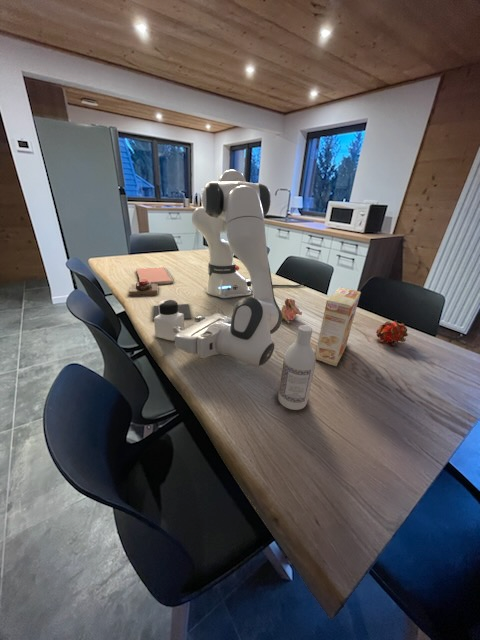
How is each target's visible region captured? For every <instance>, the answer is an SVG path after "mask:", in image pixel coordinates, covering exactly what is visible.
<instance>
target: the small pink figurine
mask: <svg viewBox="0 0 480 640" xmlns="http://www.w3.org/2000/svg"><path fill="white" fill-rule="evenodd" d="M280 310H281V313H282V320H285V321H286V322H287V323H288V324H290V320H291V321H294V318H296V317H297V315H299V316H302V315H303V312H302V311H300V309H299V307H297V306H296V301H295V299H293V298H290V297H289V298H286V299H285V300H284V304H283V305H282V307H281V309H280Z"/></svg>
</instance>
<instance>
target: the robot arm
mask: <svg viewBox="0 0 480 640" xmlns="http://www.w3.org/2000/svg"><path fill="white" fill-rule="evenodd" d="M201 196H202V197H201V201H202V202H201V203H202V206H198V207H196V208H195V209H194V211H193V212H192V216H191V221H192V225H193V227H194V229H196V231H198V232H199V233H200V234H201V235H202V236H203V238H204V239H205V241H206V243H207V247H208V257H209V258H208V259H209V261H208V266H207V274H208V281H207V286H206V288H205V289H206V290H205V293H206V294H208V295H210V296H214V297H219V298H220V299H229V298H237V297H238V298H239V297H243V298H241V299H239V300H238V301H237V302H236V303H235V305H234V306H233V309H232V313H231V318H230V317H229V316H226V315H224V314H222V313H220V312H219V313H218V312H215V313H213V314H212V315H210V316H200V315H196V316H194V317H193V320H194V322H195V323H194V324H192V325H191V326H189V327H187V328H184V330H181V327H178V326H176V327H174V328H173V332H174V333H176V335H175V340H174V345H175V347H176V348H177V349H179V350H181V351H184V352H186V353H188V354H191V355H197V357H198V358H200V359H206V358H208V357H212V356H214V355H215V356H216V355H219V354H222V355H224V356H229V357H231V358H233V359H234V360H236V361H238V362H240V363H243V364H247V365H248V366H249V365H250V366H254V367H260V366H262V365H263V366H264V364H266V363H267V362H268V361H269V360H270V358H271V357H272V356H273V353H274V351H275V342H274V340H273V338H272V334H274V333H276V332H277V331H278V330H279V329H280V327H281V325H282V322H283V319H282V313H281V310H282V309H281V308H280V306H279V305H278V303H277V301H276V297H275V294H274V287H282V288H283V287H287V288H289V287H290V288H296V287H301V286H303V285H304V286H307V284H306V282H302V283H300V284H273V280H272V273H271V267H270V266H271V265H270V261H269V254H268V247H267V246H268V245H267V238H266V225H265V217H266V216H267V215H268V213H269V211H270V208H271V205H272V204H271V203H272V197H271V196H272V195H271V191H270V188H268V186H266V185H265V184H262V183H258V182H255V183H253V182H248V181H247V180H246V178H245V176H244V175H243V173H241V172H240V171H238V170H236V169H228V170H226V171H224V172H223V173H222V174H221V175H220V176H219V179H218V180H215V181H210V182H207V183H206V185H205V186H204V189H203V191H202V195H201ZM221 234H226V239H227V240H225V239H223V238H222V237H221ZM234 256H235V257H236V258H237V259H238V260H239V261H240V262H241V263H242V264H243V266H244V267H245V269H246V270H247V272H248V274H249V277H250V279H249V278H245V277H244V276H243V275H242V274H241V273H239V272H238V271H239V270H240V266H239V265H237V264H235V263H234ZM250 287H251V288H250ZM251 295H253V297H252V296H251Z"/></svg>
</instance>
